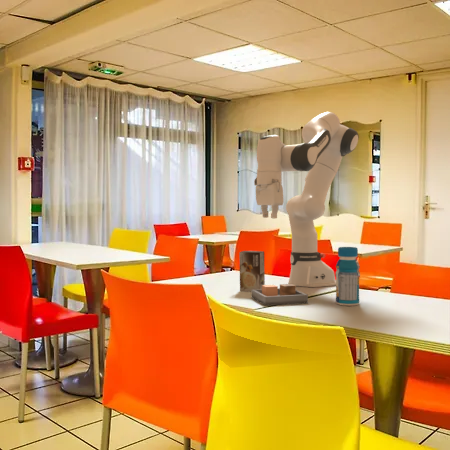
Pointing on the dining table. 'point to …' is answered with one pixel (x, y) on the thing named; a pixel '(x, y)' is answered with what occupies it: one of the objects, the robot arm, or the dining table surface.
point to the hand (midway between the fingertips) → (269, 218)
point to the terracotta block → (270, 290)
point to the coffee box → (251, 270)
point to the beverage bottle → (347, 277)
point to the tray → (279, 298)
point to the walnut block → (287, 289)
